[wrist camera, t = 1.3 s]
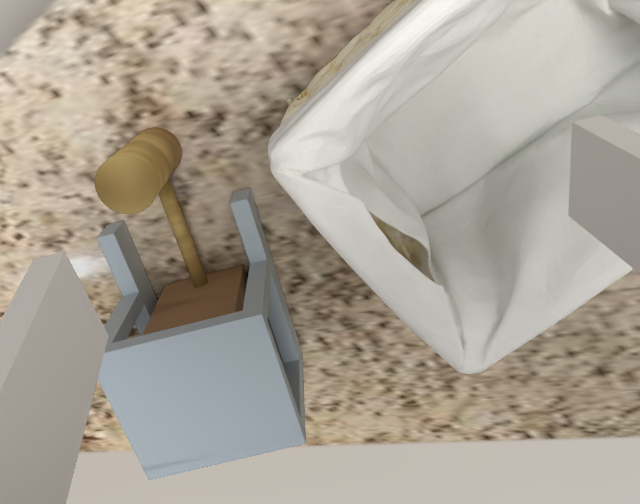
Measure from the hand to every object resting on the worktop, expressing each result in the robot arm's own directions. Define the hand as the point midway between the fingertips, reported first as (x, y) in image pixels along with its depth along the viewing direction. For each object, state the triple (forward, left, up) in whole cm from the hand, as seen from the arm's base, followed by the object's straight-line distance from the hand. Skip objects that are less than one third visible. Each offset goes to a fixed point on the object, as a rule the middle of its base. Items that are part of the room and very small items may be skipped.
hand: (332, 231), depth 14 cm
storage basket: (-2, -11, -24) cm, 27 cm away
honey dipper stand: (-8, +11, -24) cm, 27 cm away
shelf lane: (-12, +11, -24) cm, 29 cm away
